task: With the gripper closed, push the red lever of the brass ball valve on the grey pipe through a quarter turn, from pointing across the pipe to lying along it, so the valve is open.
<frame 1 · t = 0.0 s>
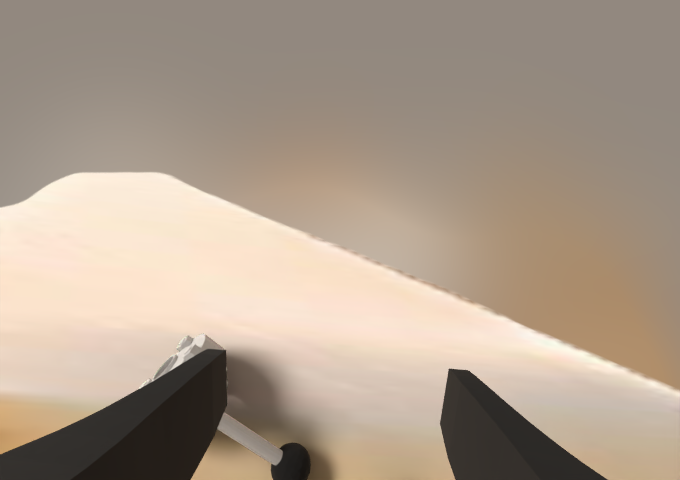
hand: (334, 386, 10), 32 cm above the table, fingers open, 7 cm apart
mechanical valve: (236, 416, 38), on the table
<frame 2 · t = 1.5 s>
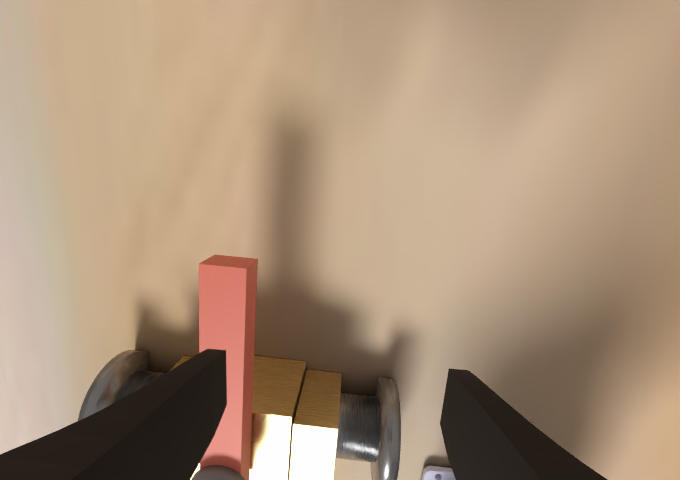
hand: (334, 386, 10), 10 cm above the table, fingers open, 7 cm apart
lever: (225, 395, 15), point 6 cm above the table, hinge at 0.0°
valve pipe: (260, 394, 22), on the table
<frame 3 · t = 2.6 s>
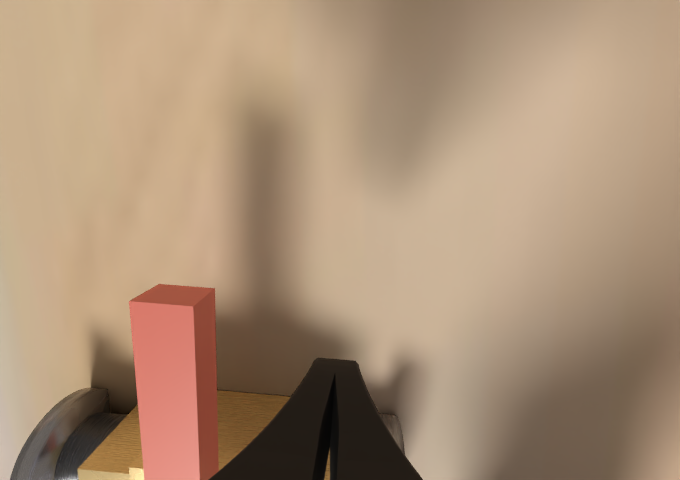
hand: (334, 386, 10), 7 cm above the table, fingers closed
lever: (178, 464, 11), point 6 cm above the table, hinge at 0.0°
valve pipe: (240, 435, 19), on the table
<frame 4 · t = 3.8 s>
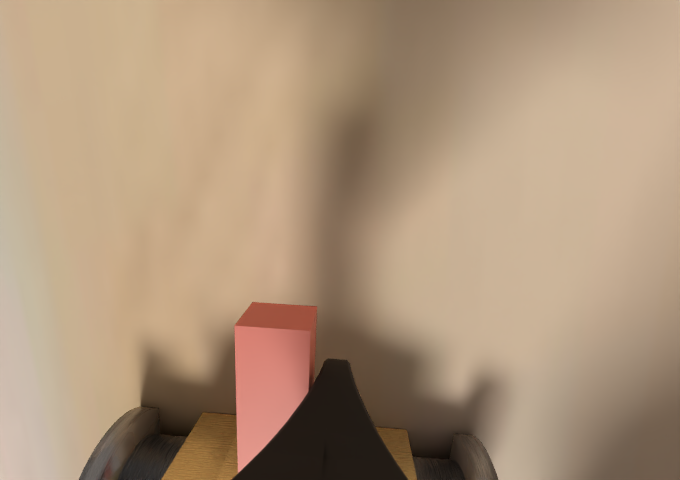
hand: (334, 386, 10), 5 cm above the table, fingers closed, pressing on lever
valve pipe: (302, 457, 17), on the table
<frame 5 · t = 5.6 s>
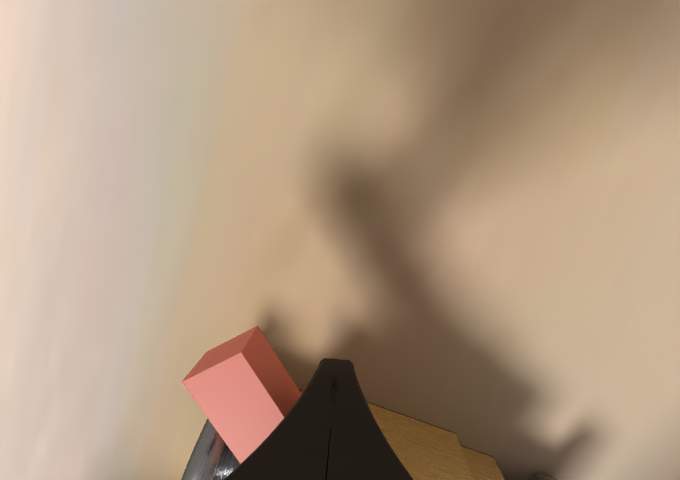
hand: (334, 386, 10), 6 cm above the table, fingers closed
valve pipe: (381, 458, 17), on the table
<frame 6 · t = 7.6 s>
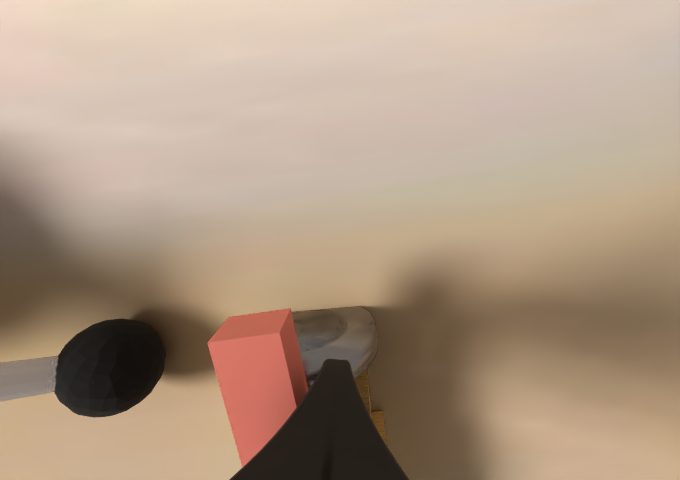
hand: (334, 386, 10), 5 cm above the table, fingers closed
valve pipe: (333, 460, 17), on the table
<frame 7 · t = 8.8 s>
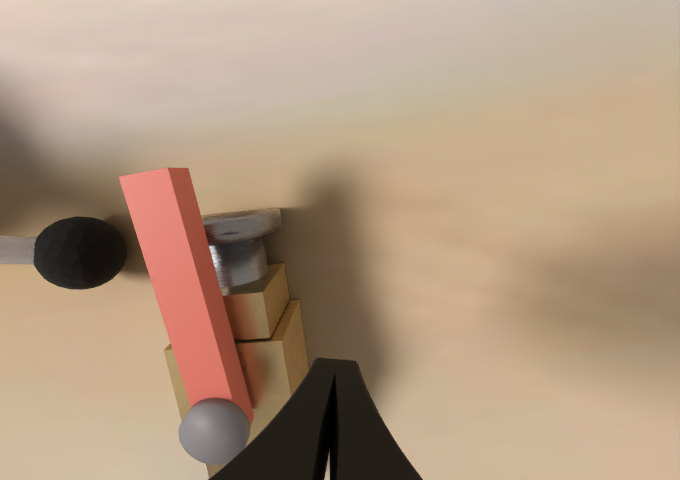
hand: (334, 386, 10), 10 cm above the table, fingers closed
lever: (194, 321, 14), point 6 cm above the table, hinge at 93.5°
valve pipe: (261, 344, 21), on the table
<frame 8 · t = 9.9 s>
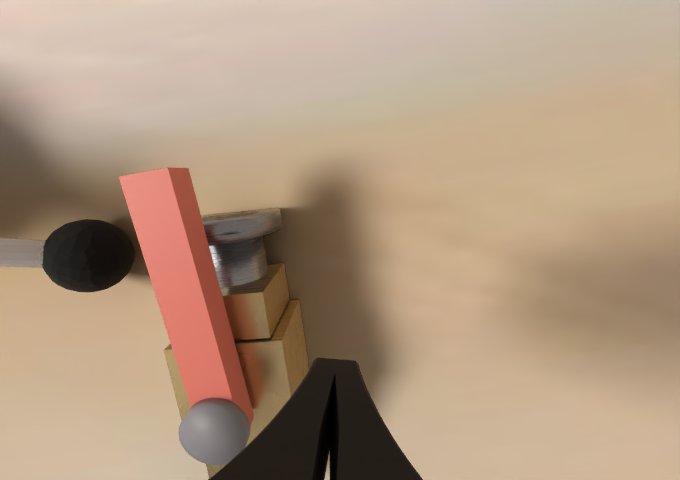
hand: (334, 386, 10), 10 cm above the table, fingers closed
lever: (194, 321, 14), point 6 cm above the table, hinge at 93.5°
valve pipe: (261, 344, 21), on the table
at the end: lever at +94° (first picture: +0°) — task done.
